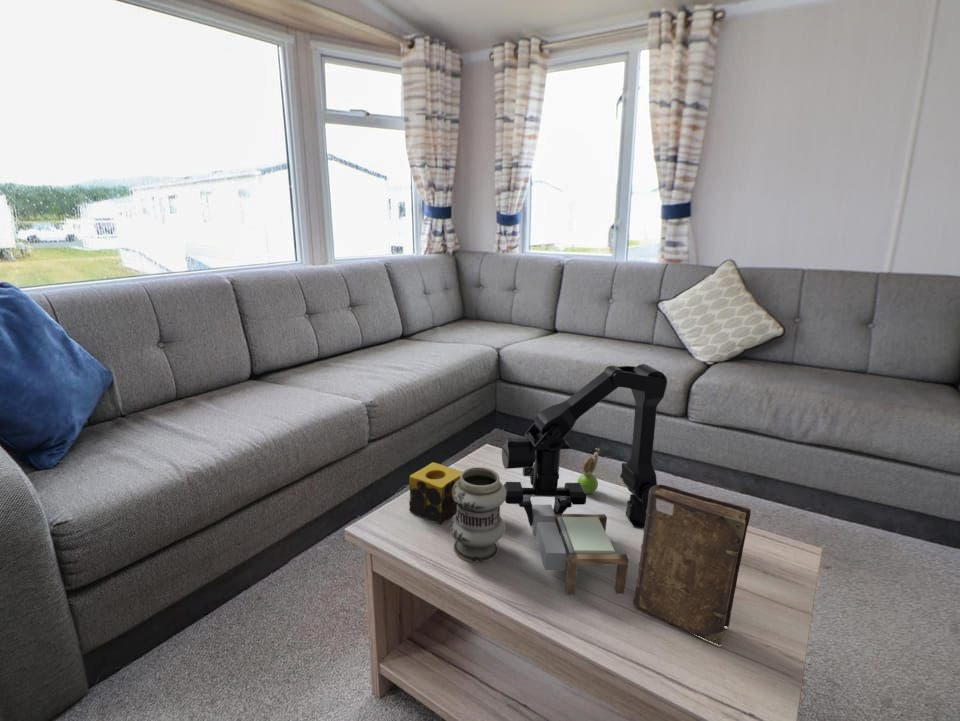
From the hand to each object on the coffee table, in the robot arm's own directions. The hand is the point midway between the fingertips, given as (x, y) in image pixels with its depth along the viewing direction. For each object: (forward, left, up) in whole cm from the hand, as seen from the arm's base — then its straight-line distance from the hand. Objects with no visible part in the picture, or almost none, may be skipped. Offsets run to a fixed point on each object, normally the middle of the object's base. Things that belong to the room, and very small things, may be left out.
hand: (541, 524), depth 125 cm
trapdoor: (-4, +15, +3) cm, 15 cm away
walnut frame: (-7, +15, -1) cm, 16 cm away
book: (-21, +29, -1) cm, 36 cm away
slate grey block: (0, 0, -1) cm, 1 cm away
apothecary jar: (+16, +8, -1) cm, 18 cm away
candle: (+25, -8, -1) cm, 26 cm away
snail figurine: (-16, -18, -1) cm, 24 cm away
